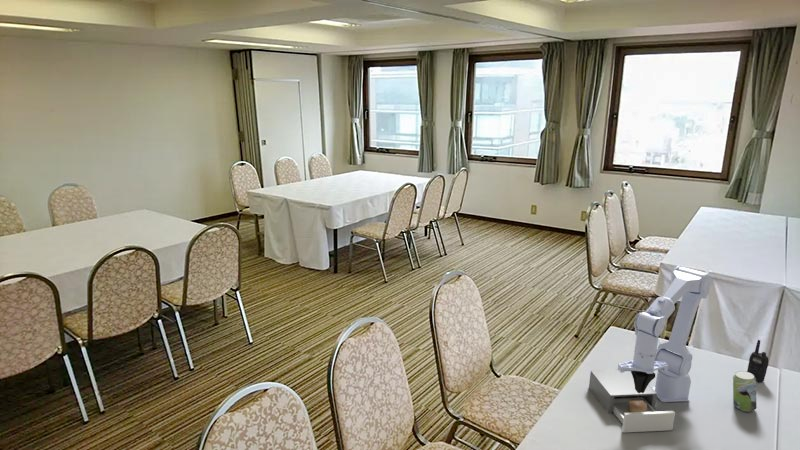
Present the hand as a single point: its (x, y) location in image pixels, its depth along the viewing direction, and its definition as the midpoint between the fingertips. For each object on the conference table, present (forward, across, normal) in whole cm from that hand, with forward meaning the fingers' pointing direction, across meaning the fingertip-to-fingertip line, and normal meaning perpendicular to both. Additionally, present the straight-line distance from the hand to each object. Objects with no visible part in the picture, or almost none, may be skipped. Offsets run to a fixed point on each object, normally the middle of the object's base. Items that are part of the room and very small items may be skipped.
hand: (639, 391), depth 147 cm
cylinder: (+8, 0, 0) cm, 8 cm away
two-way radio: (+10, +54, +18) cm, 57 cm away
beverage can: (+10, +36, +2) cm, 38 cm away
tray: (+9, 0, 0) cm, 9 cm away
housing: (+9, 0, +10) cm, 13 cm away
